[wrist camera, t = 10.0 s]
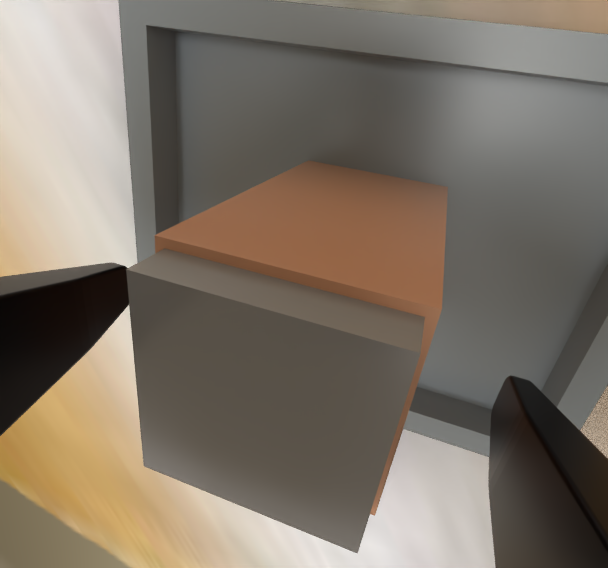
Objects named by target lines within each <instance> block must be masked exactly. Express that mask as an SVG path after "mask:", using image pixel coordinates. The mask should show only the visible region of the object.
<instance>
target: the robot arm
mask: <svg viewBox="0 0 608 568" xmlns="http://www.w3.org/2000/svg"><path fill="white" fill-rule="evenodd" d="M126 269H128V268H127V267H125V266H123V265H119V264H116V263H104V264H96V265H89V266H81V267H73V268H65V269H58V270H50V271H42V272H35V273H27V274H19V275H11V276H4V277H0V436H1V435H2V434H3V433H4V432H5V431H6V430H7V429H8V428H9V427H10V426H11V425H12V424H13V423H14V422H16V421H17V420H18V419H19V418H20V417H21V416H22V415H23V414H24V413H25V412H26V411H27V410H28V409H29V408H30V407H31V406H32V405H33V404H34V403H35V402H36V401H37V400H38V399H39V398H40V397H41V396H42V395H44V394H45V393H46V392H47V391H48V390H49V389H50V388H51V387H52V386H53V385H54V384H55V383H56V382H57V381H58V380H59V379H60V378H61V377H62V376H63V375H64V374H65V373H66V372H67V371H68V370H69V369H71V368H72V367H73V366H74V365H75V364H76V363H77V362H78V361H79V360H80V359H81V358H82V357H83V356H84V355H85V354H86V353H87V352H88V351H89V350H90V349H91V348H92V347H93V346H94V345H95V343H96V342H97V341H98V340H99V339H100V338H101V337H102V335H103V334H104V333H105V332H106V331H107V330H108V328H109V327H110V326H111V325H112V324H113V323H114V321H115V320H116V319H117V318H118V317H119V315H120V314H121V313H122V312H123V311H124V310H125V308H126V307H127V306H128V305H129V295H128V284H127V273H126ZM489 499H490V510H491V522H492V533H493V544H494V555H495V566H496V568H608V459H607V458H606V457H605V456H604V455H603V454H602V453H601V452H600V451H599V450H598V448H597V447H596V446H595V445H594V444H593V443H592V442H591V441H590V440H589V439H588V438H587V437H586V436H585V435H584V434H583V433H582V432H581V431H580V430H579V429H578V428H577V427H576V426H575V425H574V424H573V423H572V422H571V421H570V420H569V419H568V418H567V417H566V416H565V415H564V414H563V413H562V412H561V411H560V410H559V409H558V408H557V407H556V406H555V405H554V404H553V403H552V402H551V401H550V400H549V399H548V398H547V397H546V396H545V395H544V394H543V393H542V392H541V391H540V390H539V389H538V388H537V387H536V386H535V385H534V384H533V383H532V382H531V381H529V380H527V379H523V378H519V377H516V376H512V375H510V376H508V377H507V378H506V379H505V381H504V383H503V385H502V387H501V389H500V391H499V394H498V396H497V398H496V400H495V402H494V405H493V408H492V412H491V426H490V452H489Z"/></svg>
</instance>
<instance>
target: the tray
mask: <svg viewBox="0 0 608 568" xmlns="http://www.w3.org/2000/svg"><path fill="white" fill-rule="evenodd" d="M119 14H120V28H121V42H122V55H123V69H124V83H125V96H126V110H127V124H128V138H129V151H130V165H131V179H132V192H133V206H134V220H135V233H136V247H137V261H138V263H139V262H141V261H143V260H144V259H146V258H148V257H150V256H152V255H153V254H155V235H156V234H158V233H160V232H162V231H165V230H167V229H169V228H171V227H173V226H175V225H177V224H179V223H181V222H183V221H185V220H187V219H189V218H191V217H193V216H195V215H197V214H199V213H201V212H204V211H206V210H208V209H210V208H212V207H214V206H216V205H218V204H220V203H222V202H224V201H226V200H228V199H230V198H232V197H234V196H236V195H238V194H240V193H243V192H245V191H247V190H249V189H251V188H253V187H255V186H257V185H259V184H261V183H263V182H265V181H267V180H269V179H271V178H273V177H275V176H277V175H280V174H282V173H284V172H286V171H288V170H290V169H292V168H294V167H296V166H298V165H300V164H302V163H304V162H306V161H308V160H309V161H314V162H320V163H325V164H330V165H335V166H341V167H346V168H351V169H356V170H362V171H367V172H372V173H377V174H383V175H388V176H393V177H398V178H404V179H409V180H414V181H420V182H425V183H430V184H435V185H441V186H446V187H448V194H447V215H446V236H445V256H444V277H443V298H442V311H441V314H440V317H439V320H438V323H437V326H436V329H435V332H434V335H433V338H432V341H431V344H430V347H429V351H428V354H427V357H426V360H425V363H424V366H423V369H422V372H421V375H420V378H419V381H418V384H417V387H416V390H415V394H414V397H413V400H412V403H411V406H410V409H409V412H408V415H407V418H406V421H405V424H404V427H403V429H406V430H409V431H412V432H415V433H418V434H421V435H424V436H427V437H430V438H433V439H436V440H439V441H442V442H445V443H448V444H451V445H454V446H457V447H460V448H463V449H466V450H469V451H472V452H475V453H478V454H481V455H484V456H487V457H489V452H490V426H491V412H492V408H493V405H494V402H495V400H496V398H497V396H498V394H499V391H500V389H501V387H502V385H503V383H504V381H505V379H506V378H507V377H508V376H510V375H512V376H516V377H519V378H523V379H527V380H529V381H531V382H532V383H533V384H534V385H535V386H536V387H537V388H538V389H539V390H540V391H541V392H542V393H543V394H544V395H545V396H546V397H547V398H548V399H549V400H550V401H551V402H552V403H553V404H554V405H555V406H556V407H557V408H558V409H559V410H560V411H561V412H562V413H563V414H564V415H565V416H566V417H567V418H568V419H569V420H570V421H571V422H572V423H573V424H574V425H575V426H576V427H577V428H578V429H579V430H581V428H582V426H583V425H584V423H585V421H586V420H587V418H588V416H589V415H590V413H591V412H592V410H593V408H594V407H595V405H596V403H597V402H598V400H599V399H600V397H601V395H602V394H603V392H604V390H605V389H606V387H607V385H608V34H600V33H590V32H580V31H570V30H560V29H550V28H540V27H530V26H521V25H511V24H501V23H491V22H481V21H471V20H461V19H451V18H442V17H432V16H422V15H412V14H402V13H392V12H382V11H372V10H362V9H353V8H343V7H333V6H323V5H313V4H303V3H293V2H283V1H273V0H119Z"/></svg>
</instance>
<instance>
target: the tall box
mask: <svg viewBox="0 0 608 568" xmlns="http://www.w3.org/2000/svg"><path fill="white" fill-rule="evenodd" d="M447 194H448V187H446V186H441V185H435V184H430V183H425V182H420V181H414V180H409V179H404V178H398V177H393V176H388V175H383V174H377V173H372V172H367V171H362V170H356V169H351V168H346V167H341V166H335V165H330V164H325V163H320V162H314V161H309V160H308V161H306V162H304V163H302V164H300V165H298V166H296V167H294V168H292V169H290V170H288V171H286V172H284V173H282V174H280V175H277V176H275V177H273V178H271V179H269V180H267V181H265V182H263V183H261V184H259V185H257V186H255V187H253V188H251V189H249V190H247V191H245V192H243V193H240V194H238V195H236V196H234V197H232V198H230V199H228V200H226V201H224V202H222V203H220V204H218V205H216V206H214V207H212V208H210V209H208V210H206V211H204V212H201V213H199V214H197V215H195V216H193V217H191V218H189V219H187V220H185V221H183V222H181V223H179V224H177V225H175V226H173V227H171V228H169V229H167V230H165V231H162V232H160V233H158V234H156V235H155V254H153V255H152V256H150V257H148V258H146V259H144V260H143V261H141V262H139V263H137V264H135V265H133V266H132V267H130V268H128V269H126V273H127V284H128V295H129V306H130V317H131V328H132V340H133V351H134V362H135V373H136V384H137V395H138V406H139V417H140V429H141V440H142V451H143V462H144V466H145V467H147V468H150V469H152V470H154V471H157V472H159V473H162V474H164V475H167V476H169V477H172V478H174V479H177V480H179V481H181V482H184V483H186V484H189V485H191V486H194V487H196V488H199V489H201V490H203V491H206V492H208V493H211V494H213V495H216V496H218V497H221V498H223V499H225V500H228V501H230V502H233V503H235V504H238V505H240V506H243V507H245V508H248V509H250V510H252V511H255V512H257V513H260V514H262V515H265V516H267V517H270V518H272V519H274V520H277V521H279V522H282V523H284V524H287V525H289V526H292V527H294V528H296V529H299V530H301V531H304V532H306V533H309V534H311V535H314V536H316V537H319V538H321V539H323V540H326V541H328V542H331V543H333V544H336V545H338V546H341V547H343V548H345V549H348V550H350V551H353V552H355V553H358V550H359V547H360V543H361V540H362V537H363V534H364V531H365V528H366V524H367V521H368V518H369V515H370V514H372V515H375V513H376V510H377V507H378V504H379V501H380V498H381V495H382V492H383V489H384V486H385V482H386V479H387V476H388V473H389V470H390V467H391V464H392V461H393V458H394V455H395V452H396V449H397V446H398V443H399V440H400V436H401V433H402V430H403V427H404V424H405V421H406V418H407V415H408V412H409V409H410V406H411V403H412V400H413V397H414V394H415V390H416V387H417V384H418V381H419V378H420V375H421V372H422V369H423V366H424V363H425V360H426V357H427V354H428V351H429V347H430V344H431V341H432V338H433V335H434V332H435V329H436V326H437V323H438V320H439V317H440V314H441V311H442V298H443V277H444V256H445V236H446V215H447Z"/></svg>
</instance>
